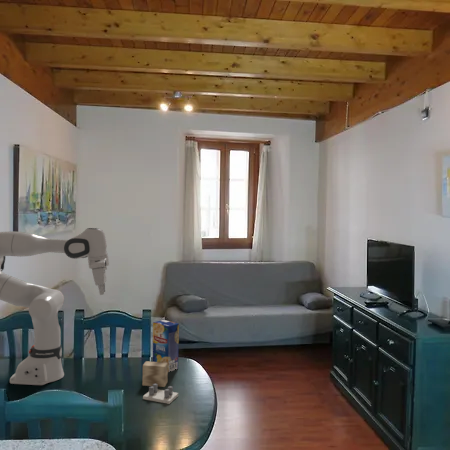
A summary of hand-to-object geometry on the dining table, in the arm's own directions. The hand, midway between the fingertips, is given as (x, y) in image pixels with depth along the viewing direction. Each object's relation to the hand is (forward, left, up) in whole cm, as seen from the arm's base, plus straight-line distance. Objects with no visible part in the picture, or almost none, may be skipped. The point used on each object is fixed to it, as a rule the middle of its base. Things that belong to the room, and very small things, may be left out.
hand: (102, 293), depth 194 cm
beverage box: (+28, +10, -39) cm, 49 cm away
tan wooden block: (+24, -9, -39) cm, 47 cm away
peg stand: (+27, -23, -39) cm, 52 cm away
